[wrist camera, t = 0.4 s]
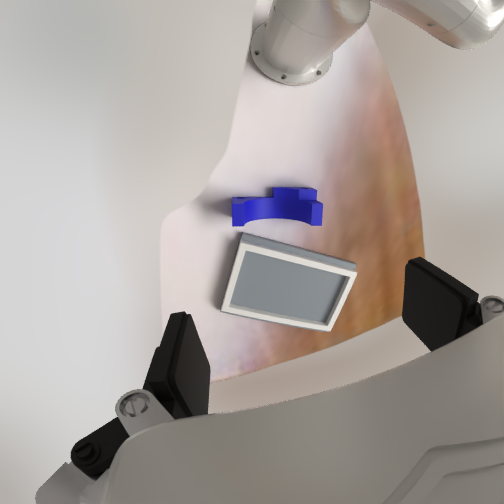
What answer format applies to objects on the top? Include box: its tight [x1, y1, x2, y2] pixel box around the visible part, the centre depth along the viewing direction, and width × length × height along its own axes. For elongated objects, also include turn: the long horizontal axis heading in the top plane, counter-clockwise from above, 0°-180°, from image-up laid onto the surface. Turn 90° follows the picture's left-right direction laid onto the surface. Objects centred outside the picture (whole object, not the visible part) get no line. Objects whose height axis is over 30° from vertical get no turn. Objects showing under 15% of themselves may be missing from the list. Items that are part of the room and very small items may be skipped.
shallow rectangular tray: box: [220, 232, 357, 332], centre depth 45 cm, size 14×20×2 cm
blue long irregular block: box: [232, 187, 323, 226], centre depth 38 cm, size 12×4×6 cm, turn 90°
